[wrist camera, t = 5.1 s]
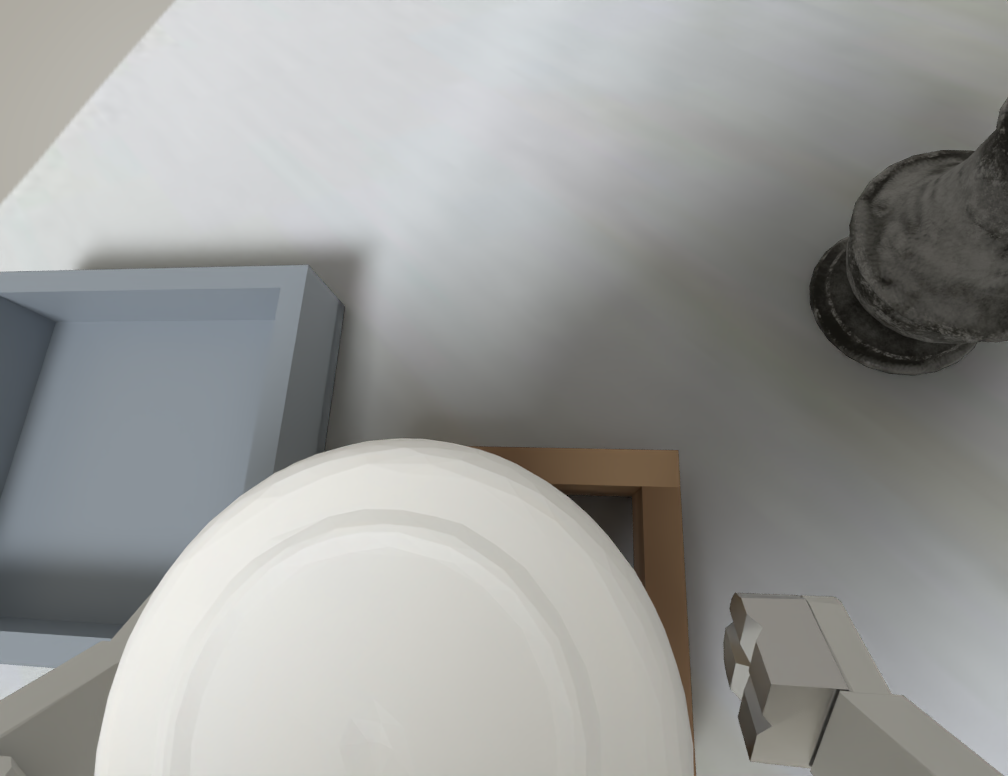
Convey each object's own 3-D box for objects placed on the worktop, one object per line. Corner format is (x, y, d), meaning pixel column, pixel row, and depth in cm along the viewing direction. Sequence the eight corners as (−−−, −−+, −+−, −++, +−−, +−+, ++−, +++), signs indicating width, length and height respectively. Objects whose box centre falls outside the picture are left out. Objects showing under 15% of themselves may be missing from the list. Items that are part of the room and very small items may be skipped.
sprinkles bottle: (540, 497, 17) (459, 321, 5) (632, 625, 16) (877, 878, 3) (421, 584, 17) (-22, 650, 4) (504, 723, 16) (214, 1448, 3)
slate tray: (344, 306, 20) (308, 264, 17) (294, 661, 17) (237, 682, 14) (57, 309, 22) (-20, 272, 19) (-47, 637, 18) (-161, 651, 15)
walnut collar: (663, 465, 17) (678, 450, 15) (677, 783, 15) (699, 826, 12) (399, 459, 18) (374, 444, 16) (370, 756, 16) (334, 790, 13)
